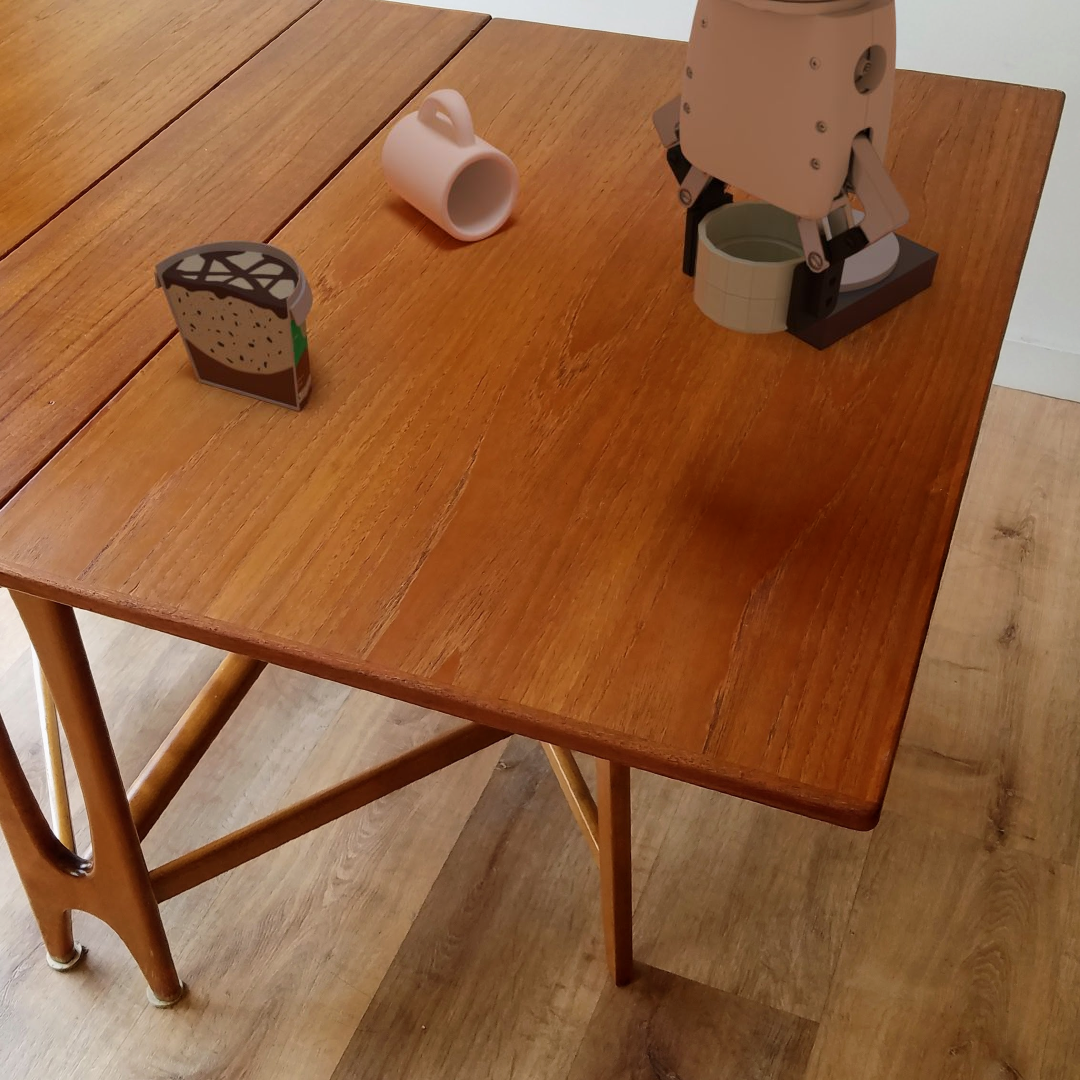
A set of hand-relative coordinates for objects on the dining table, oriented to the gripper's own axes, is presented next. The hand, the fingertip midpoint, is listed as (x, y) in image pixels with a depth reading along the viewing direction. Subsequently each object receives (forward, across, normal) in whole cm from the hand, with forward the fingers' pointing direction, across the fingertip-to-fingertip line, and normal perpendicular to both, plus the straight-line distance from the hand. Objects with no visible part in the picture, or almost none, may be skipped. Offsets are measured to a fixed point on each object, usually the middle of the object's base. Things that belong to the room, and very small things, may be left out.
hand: (755, 291), depth 64 cm
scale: (+18, +15, -27) cm, 36 cm away
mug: (+18, +44, -12) cm, 49 cm away
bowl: (+1, 0, 0) cm, 1 cm away
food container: (+18, +35, +14) cm, 42 cm away
